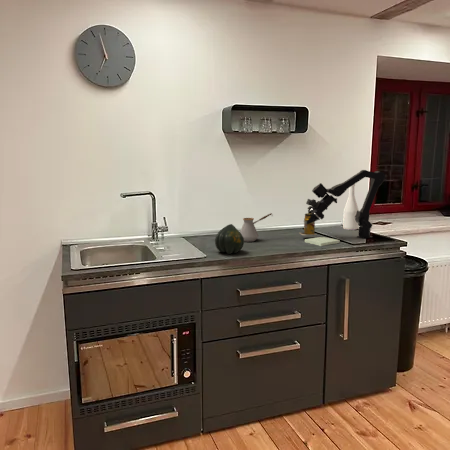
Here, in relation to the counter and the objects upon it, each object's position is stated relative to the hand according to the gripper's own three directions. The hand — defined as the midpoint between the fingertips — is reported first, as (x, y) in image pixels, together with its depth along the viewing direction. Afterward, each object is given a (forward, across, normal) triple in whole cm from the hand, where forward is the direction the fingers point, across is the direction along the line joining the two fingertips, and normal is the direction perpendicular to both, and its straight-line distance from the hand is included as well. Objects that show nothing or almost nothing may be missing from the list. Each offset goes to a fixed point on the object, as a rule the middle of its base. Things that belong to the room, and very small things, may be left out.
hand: (305, 222), depth 255 cm
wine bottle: (-18, -29, +32) cm, 47 cm away
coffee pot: (+27, 0, -14) cm, 30 cm away
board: (+2, +12, +12) cm, 17 cm away
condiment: (+4, 0, +6) cm, 7 cm away
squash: (+39, +30, -26) cm, 56 cm away
